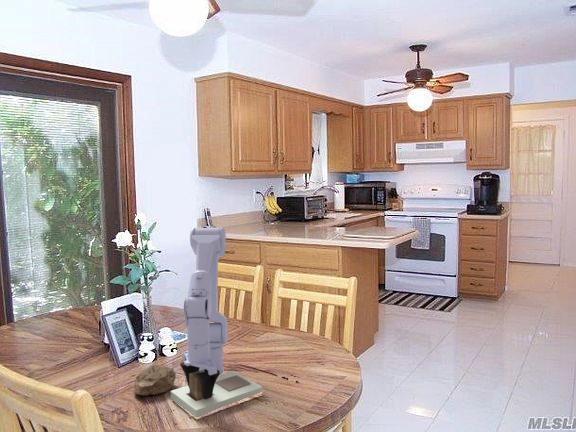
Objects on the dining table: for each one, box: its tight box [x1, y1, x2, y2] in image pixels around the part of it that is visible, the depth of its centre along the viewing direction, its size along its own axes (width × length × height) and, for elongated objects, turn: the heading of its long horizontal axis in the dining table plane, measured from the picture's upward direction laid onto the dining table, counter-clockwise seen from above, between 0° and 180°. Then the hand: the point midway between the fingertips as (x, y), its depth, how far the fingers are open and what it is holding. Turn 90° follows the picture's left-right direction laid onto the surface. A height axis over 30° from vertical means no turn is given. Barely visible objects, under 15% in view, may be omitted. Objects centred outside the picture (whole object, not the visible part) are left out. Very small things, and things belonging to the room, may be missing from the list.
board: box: [170, 370, 264, 417], centre depth 128 cm, size 14×20×3 cm
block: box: [189, 370, 204, 401], centre depth 125 cm, size 4×4×8 cm
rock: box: [133, 364, 176, 397], centre depth 134 cm, size 13×11×5 cm
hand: (200, 392), depth 125 cm, fingers open, 7 cm apart
